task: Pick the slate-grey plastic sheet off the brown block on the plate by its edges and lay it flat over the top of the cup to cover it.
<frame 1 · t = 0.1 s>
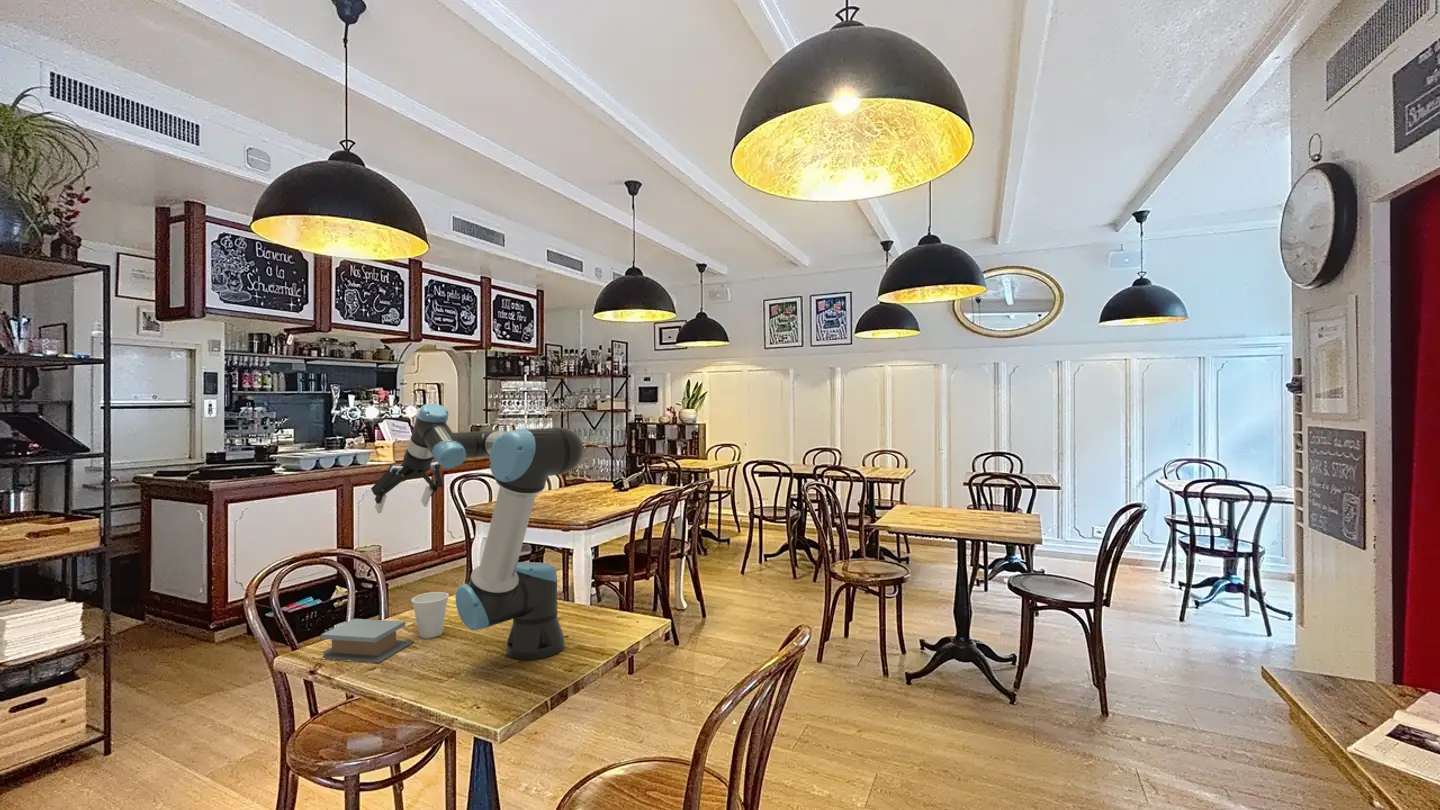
hand: (401, 506, 191), 36 cm above the table, tool tilted 35°, fingers open, 13 cm apart
cup: (430, 635, 183), on the table
sheet: (364, 632, 172), point 5 cm above the table, touching brown block on plate
brown block on plate: (364, 650, 172), on the table
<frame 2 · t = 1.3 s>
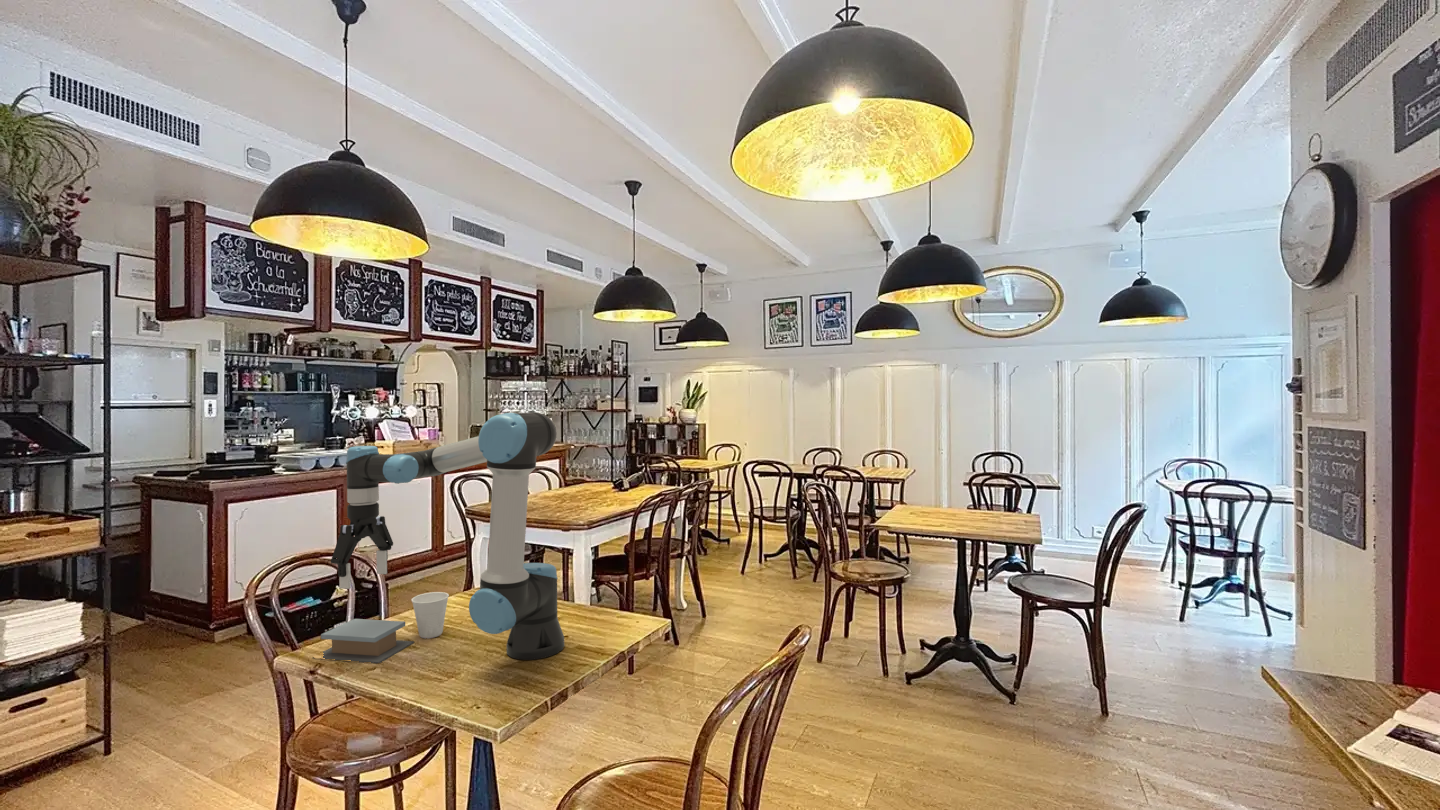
hand: (364, 580, 172), 19 cm above the table, tool pointing down, fingers open, 13 cm apart
nothing on the table moved.
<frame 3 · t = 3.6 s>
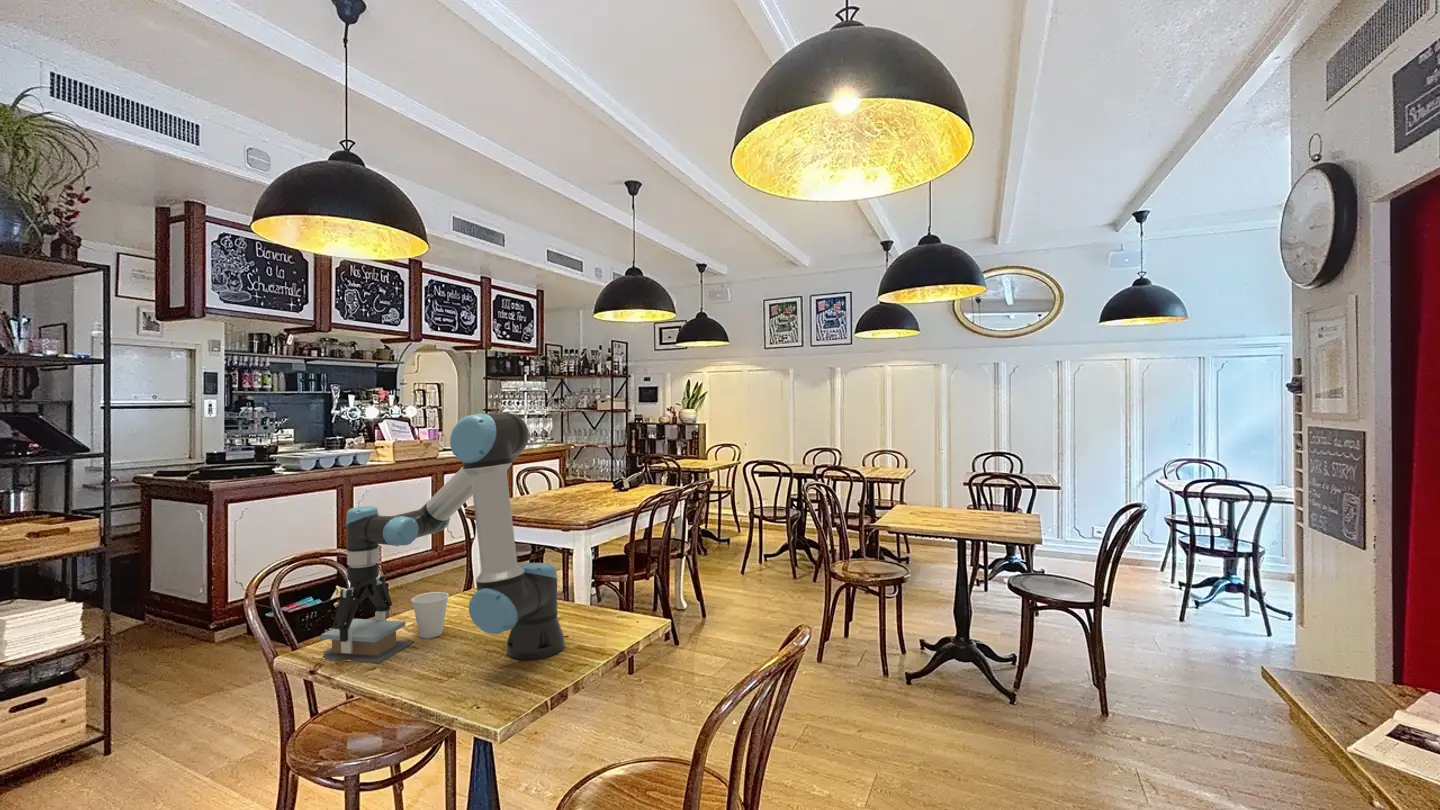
hand: (364, 643, 172), 2 cm above the table, tool pointing down, fingers closed on sheet, 12 cm apart
sheet: (364, 632, 172), point 5 cm above the table, touching gripper, brown block on plate
everything else where it was.
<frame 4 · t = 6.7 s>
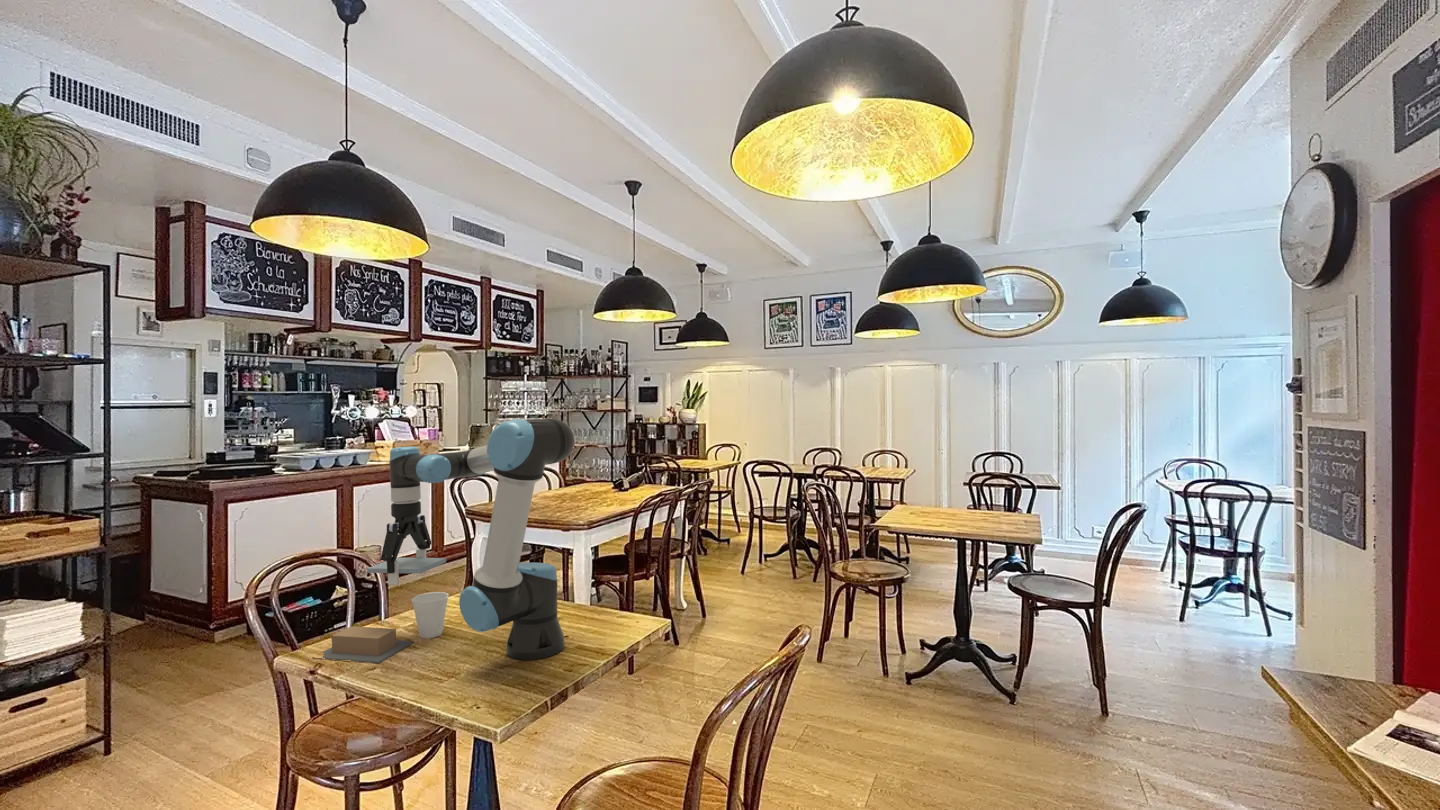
hand: (408, 578, 178), 18 cm above the table, tool pointing down, fingers closed on sheet, 12 cm apart
sheet: (407, 567, 178), point 21 cm above the table, touching gripper
everything else where it was.
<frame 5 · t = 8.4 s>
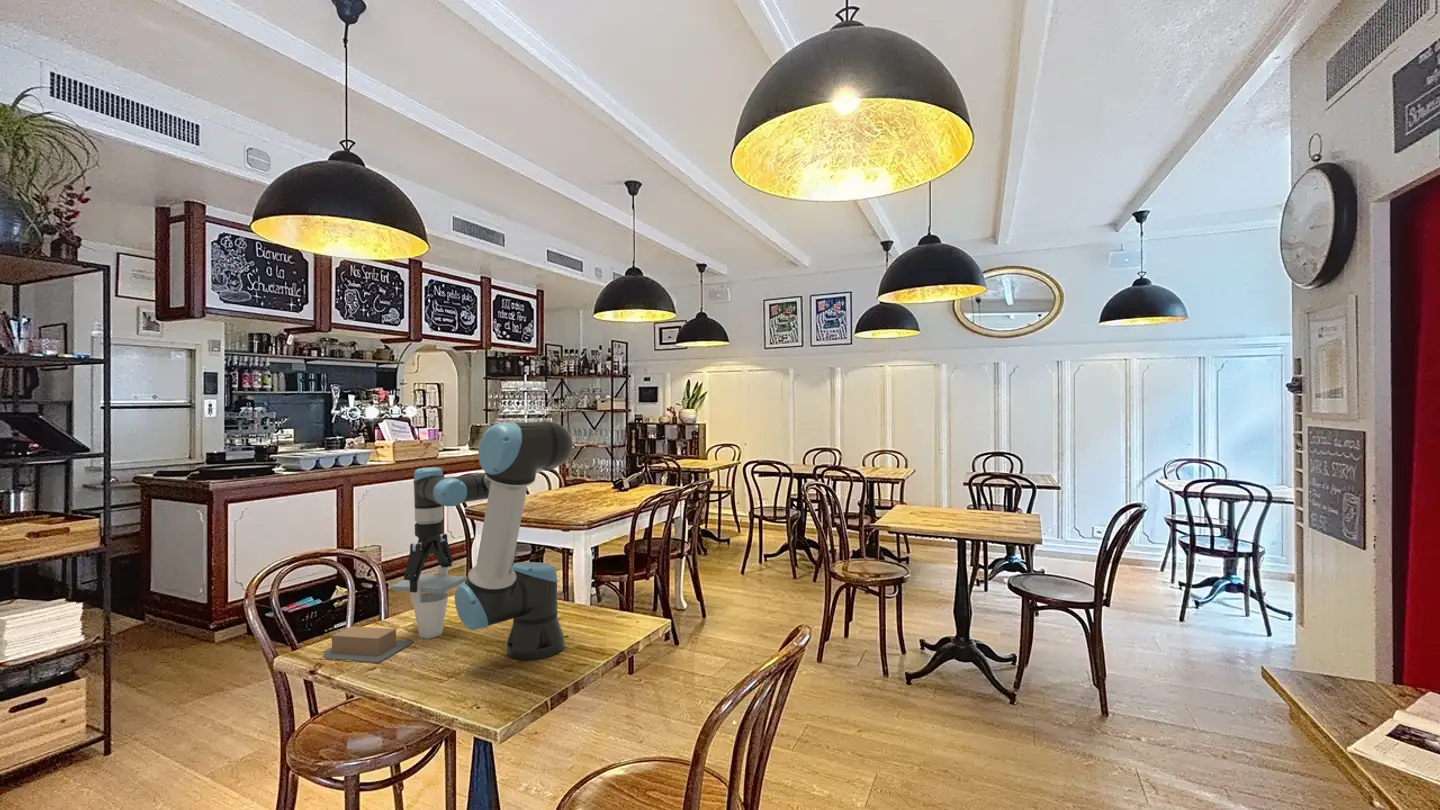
hand: (430, 595, 183), 11 cm above the table, tool pointing down, fingers closed on sheet, 12 cm apart
sheet: (429, 585, 183), point 14 cm above the table, touching gripper
everything else where it was.
when the fingers open (10 cm above the table, at t = 9.7 s): sheet drops 2 cm, resting on cup.
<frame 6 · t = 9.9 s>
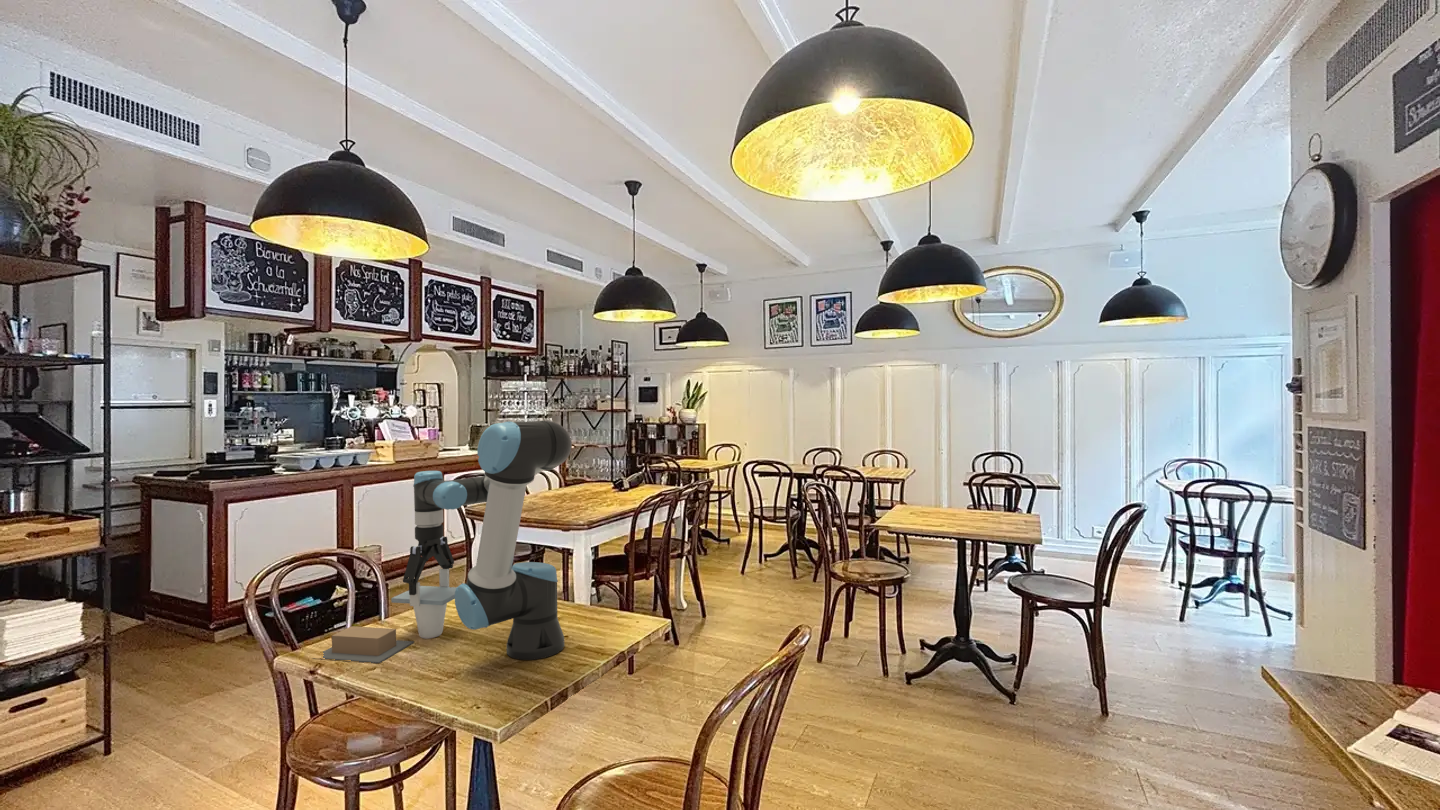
hand: (430, 598, 183), 11 cm above the table, tool pointing down, fingers open, 13 cm apart
cup: (430, 635, 183), on the table, touching sheet
sheet: (430, 597, 183), point 11 cm above the table, touching cup
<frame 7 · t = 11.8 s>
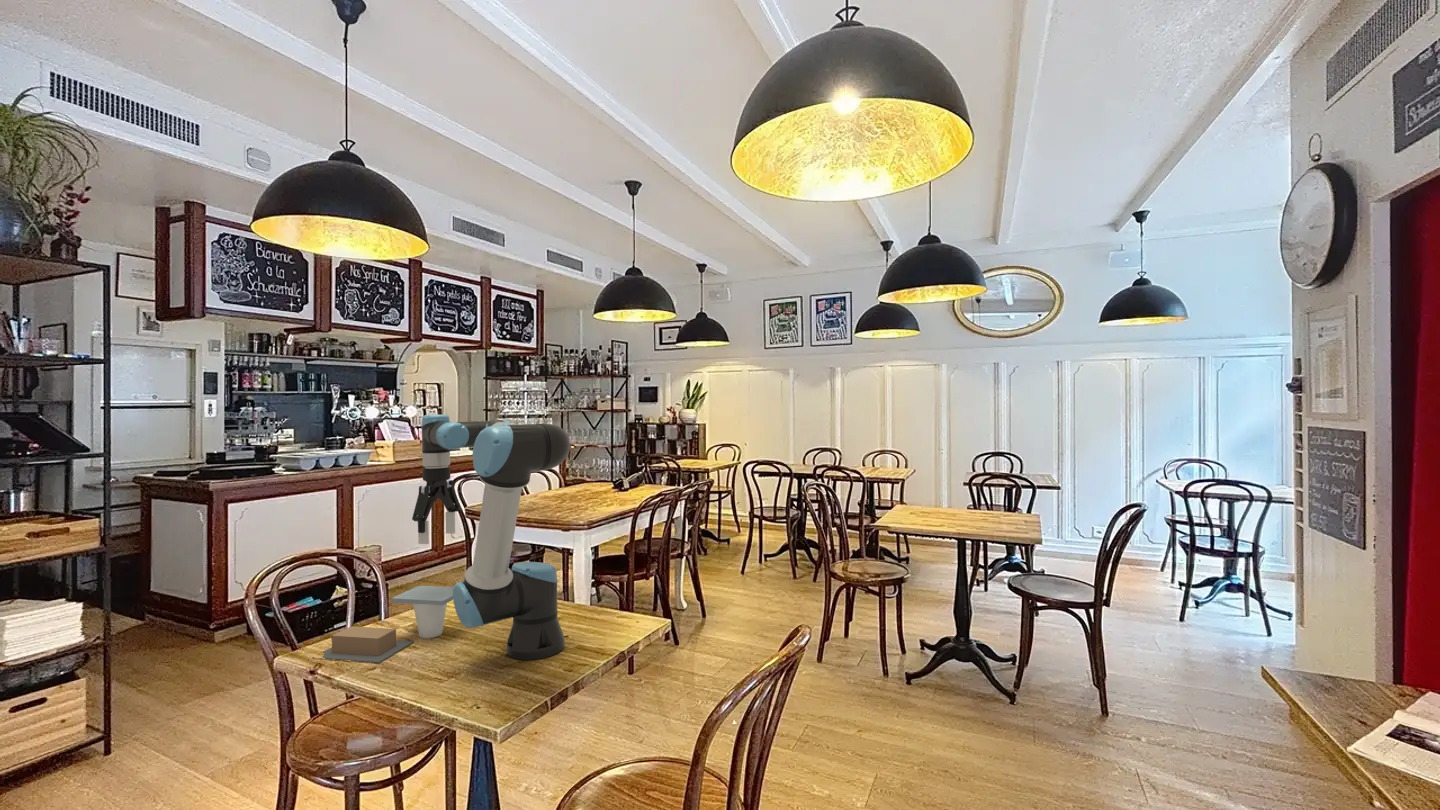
hand: (437, 538, 187), 27 cm above the table, tool pointing down, fingers open, 13 cm apart
nothing on the table moved.
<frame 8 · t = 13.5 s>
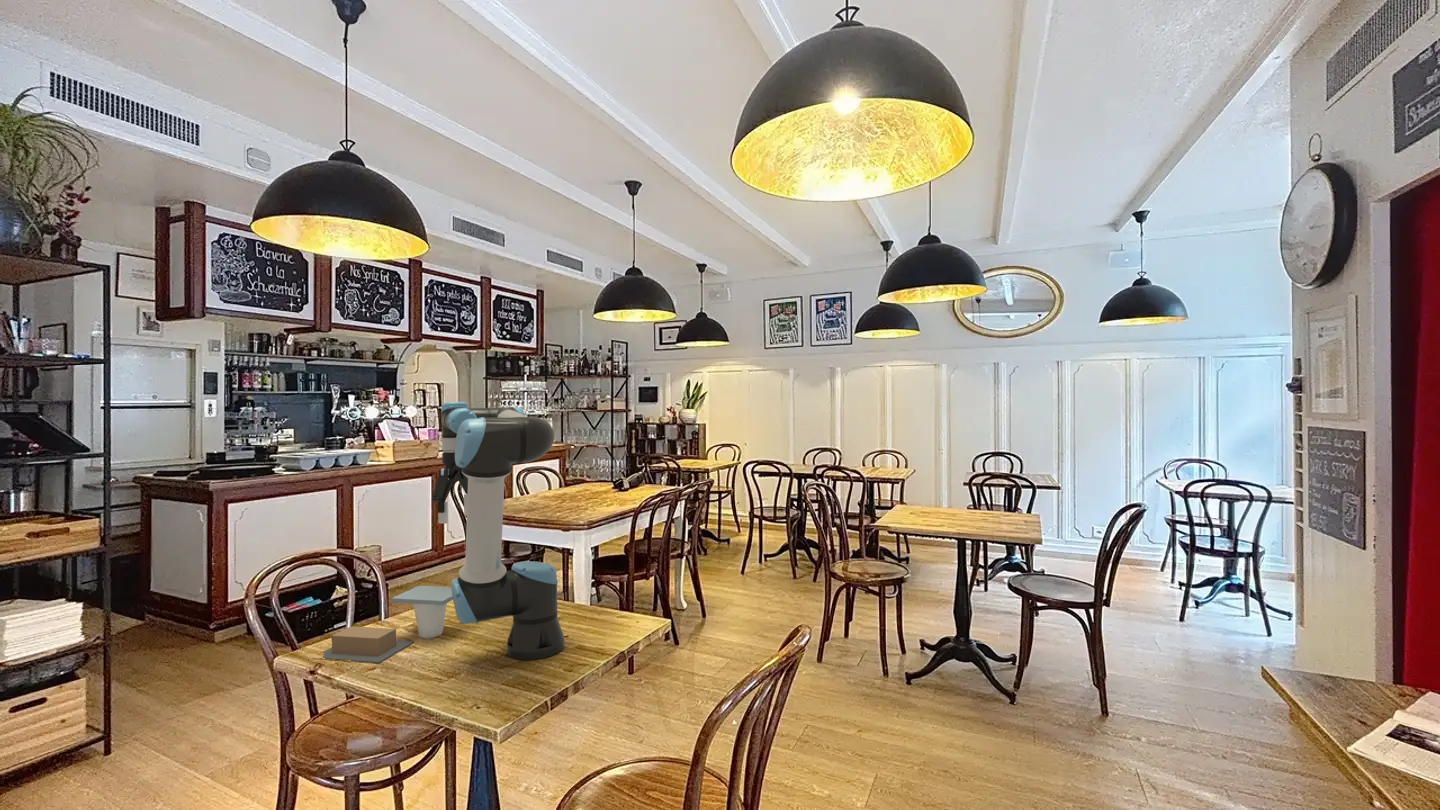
hand: (456, 519, 197), 31 cm above the table, tool pointing down, fingers open, 13 cm apart
nothing on the table moved.
at the end: sheet 0.0 cm off-centre on the cup, point 11.2 cm above the cup's base; cup tilted 0°; the gripper is holding nothing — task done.
